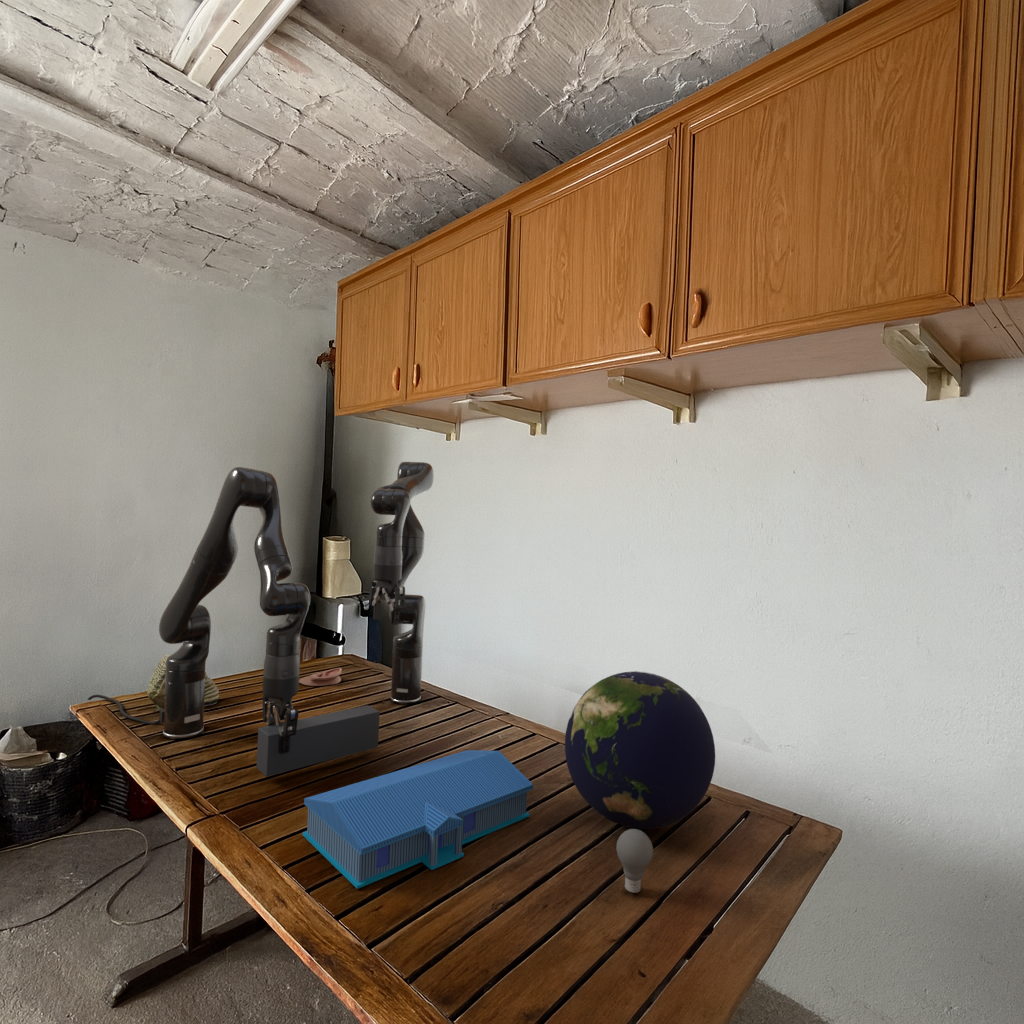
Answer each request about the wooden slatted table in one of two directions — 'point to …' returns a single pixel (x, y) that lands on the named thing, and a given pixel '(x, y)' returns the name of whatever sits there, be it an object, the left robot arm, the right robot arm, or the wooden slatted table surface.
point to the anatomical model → (322, 678)
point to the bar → (319, 740)
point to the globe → (640, 750)
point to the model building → (416, 814)
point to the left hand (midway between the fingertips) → (277, 747)
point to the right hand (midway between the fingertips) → (385, 621)
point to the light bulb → (634, 857)
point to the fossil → (158, 687)
